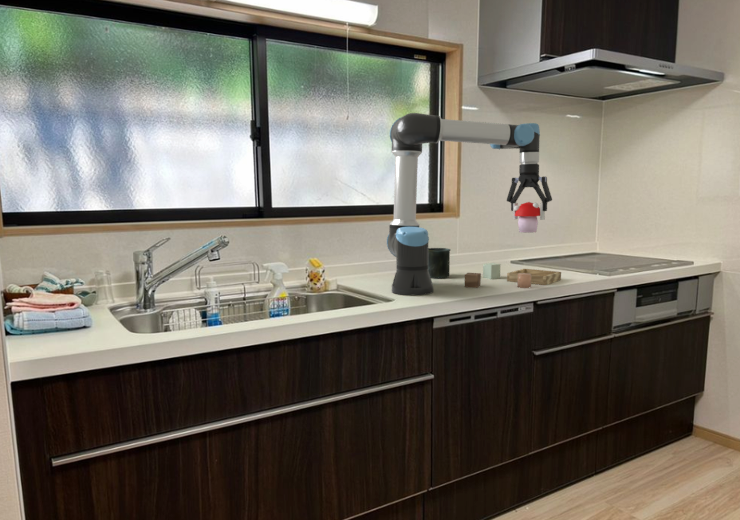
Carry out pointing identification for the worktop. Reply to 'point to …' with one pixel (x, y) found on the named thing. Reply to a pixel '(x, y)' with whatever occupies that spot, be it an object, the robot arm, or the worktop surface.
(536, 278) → the bamboo tray
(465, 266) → the worktop surface
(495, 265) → the sage block
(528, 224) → the mushroom
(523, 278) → the peach rounded block
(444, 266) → the mug
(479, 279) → the walnut block
